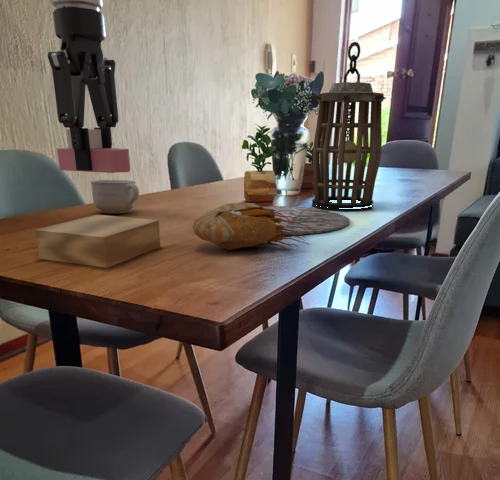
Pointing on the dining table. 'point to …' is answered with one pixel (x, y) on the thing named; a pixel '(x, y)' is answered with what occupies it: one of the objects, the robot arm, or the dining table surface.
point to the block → (98, 240)
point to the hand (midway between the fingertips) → (95, 168)
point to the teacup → (114, 195)
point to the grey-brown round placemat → (309, 220)
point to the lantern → (347, 143)
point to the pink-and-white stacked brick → (95, 155)
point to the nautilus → (242, 226)
